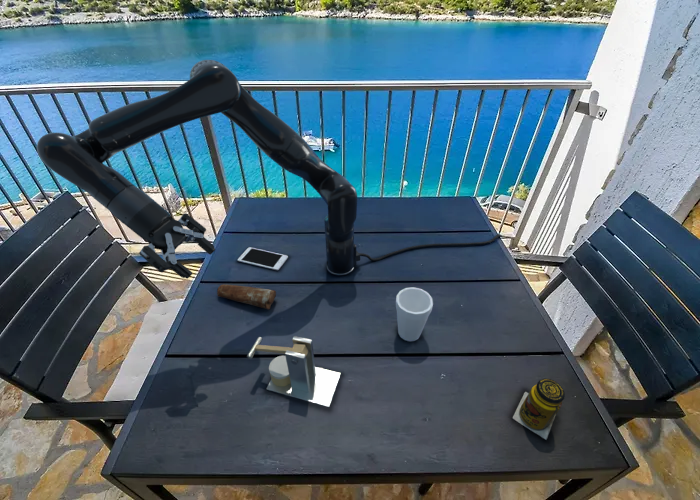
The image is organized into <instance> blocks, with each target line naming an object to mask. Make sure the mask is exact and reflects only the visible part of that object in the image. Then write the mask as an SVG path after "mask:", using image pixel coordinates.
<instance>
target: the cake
mask: <svg viewBox="0 0 700 500" xmlns="http://www.w3.org/2000/svg"><path fill="white" fill-rule="evenodd" d="M268 371H269V375H270V380H271V379H272V382H273V383H274V384H275V385H277V386H287V385H289V384H290V383H291V381H290V376H289V371H288V366H287V361H286V356H285V355H279V356H277V357H274V358H273V359H271V361H270V363H269V366H268Z"/></svg>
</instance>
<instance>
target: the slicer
mask: <svg viewBox="0 0 700 500" xmlns="http://www.w3.org/2000/svg"><path fill="white" fill-rule="evenodd" d="M291 341H292V345H293V346H294V344H302V345H305V346H306V348H307V350H308V353H307V356H306V355H304V354H300V353H296V352H292V351H288V350H287V351H286V353H285V354H284V356H286V361H287V366H288V371H289V376H290V381H291V383H290V384H289V385H287V386H277V385H275V384H274V383H273V382H272V379H271V378H270V381H269V382H268V384H267V387H266V390H268V391H271V392H274V393H278V394H282V395H285V396H289V397H292V398H296V399H300V400H303V401H305V402H309V403H314V404H317V405H321V406H324V407H328V408H329V407H330V405H331V403H332V400H333V397H334V394H335V391H336V388H337V385H338V382H339V379H340V377H341V372H338V371H334V370H329V369H325V368H323V367H318V366H316V362H315V354H314V345H313V340H312V339H310V338H306V337H301V336H297V335H293V337H292V340H291ZM293 346H292V347H293Z"/></svg>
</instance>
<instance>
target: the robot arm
mask: <svg viewBox="0 0 700 500" xmlns="http://www.w3.org/2000/svg"><path fill="white" fill-rule="evenodd" d="M216 114H222V115H223V116H225V117H226V118H228V120H230V121H232V122H233V123H234V124H235V125H236V126H237V127H239V129H241V130H242V131H243V133H244V134H245V135H246V136H247V138H249V139H250V140H251V142H253V144H255V145H256V147H257V148H258V149H260V151H262V152H263V153H264V154H265V155H266V156H267V157H268V158H269V159H271V160H272V161H273V162H274V163H275V164H277V166H279V167H280V168H281V169H283V170H285V171H287V172H288V173H290V174H292V175H295V176H297V177H299V178H301V179H303V180H304V181H305V182H306V183H308V184H309V186H311V187H312V188H313V189H314V190H315V191H316V192H317V194H318V195H319V196H320V198H321V199H322V200H323V202H324V203H325V204H326V205H327V214H326V216H325V217H324V221H323V222H324V235H325V236H324V237H325V238H324V239H325V253H326V254H325V255H326V270H327V272H328V273H329V274H331V275H333V276H336V277H337V276H338V277H343V276H348V275H350V274H351V273H352V272H353V271H354V270H355V269H356V268H357V262H359V261H361V257H364V258H367V259H368V260H369V261H372V262H378V261H382V260H384V259H386V258H388V257H391V256H393V255H397V254H400V253H403V252H406V251H410V250H415V249H420V248H421V249H422V248H430V247H458V246H459V247H460V246H461V247H463V246H466V247H467V246H482V245H488V244H490V243H491V244H492V243H493V242H494V241H495V240H497V239H498V238H503V235H502V234H501V233H498V234H496V235H495V236H494V237H493V238H491V239H489V240H487V241H479V242H478V241H476V242H456V243H455V242H452V243H451V242H450V243H449V242H448V243H447V242H445V243H428V244H419V245H418V244H417V245H412V246H407V247H404V248H401V249H397V250H395V251H392V252H388V253H386V254H384V255H382V256H380V257H375V258H372V257H371V256H370V255H369V254H366V253H362V252H359V251H358V250H357V245H356V244H355V222H356V221H357V217H358V192H357V189H356V188H355V186H353V184H352V183H351V182H350V181H349V180H348V179H347V178H346V177H345V176H343V175H342V174H341V173H339V172H338V171H336V170H335V169H333V168H332V167H331V166H329V165H328V164H327V163H326V162H324V161H323V160H322V159H321V158H320V156H318V154H317V153H316V152H315V150H314V149H313V148H312V147H311V145H310V144H309V143H308V142H307V141H306V140H305V139H304V138H303V137H302V135H300V134H299V133H298V132H296V130H295V129H293V128H292V127H291V126H290V125H289V124H288V123H287V122H285V121H284V120H283V119H282V118H280V117H279V116H278V115H276V114H275V113H274V112H273V111H271V110H270V109H268V108H266V107H265V106H264V105H262V104H261V103H260V102H259V101H257V100H256V99H255V98H254V97H253V96H252V95H251V94H250V93H249V92H248V90H246V89H245V88H244V87H243V85H242V84H241V83H240V82H239V80H238V77H237V76H236V75H235V73H233V72H232V70H231V69H230V68H228V67H227V66H226V65H225V64H223V63H221V62H220V61H217V60H213V59H202V60H200V61H198V62H196V63H195V64H194V65H193V66H192V67H191V69H190V72H189V79H188V80H187V81H185V82H184V83H182V84H180V85H179V86H177V87H175V88H174V89H171V90H170V91H167V92H165V93H162V94H160V95H157V96H153V97H151V98H147V99H142V100H140V101H134V102H131V103H128V104H125V105H123V106H121V107H118V108H116V109H113V110H111V111H108V112H107V113H104V114H102V115H100V116H97V117H96V118H94V119H92V120H91V121H90V122H89V124H88V128H87V129H85V130H83V131H82V132H79V133H77V134H75V135H70V134H68V133H64V132H49V133H46V134H44V135H42V136H41V137H40V138H39V139H38V140H37V143H36V152H37V155H38V157H39V158H40V160H41V161H42V162H43V164H44V165H45V166H46V167H48V168H49V169H50V170H51V171H52V172H54V173H55V174H56V175H58V176H60V177H61V178H64V179H65V180H66V181H68V182H69V183H70V184H72V185H74V186H76V187H78V188H79V189H80V190H83V191H84V192H86V193H88V195H89V196H91V197H92V198H93V199H94V200H95V201H96V202H98V203H99V204H100V205H102V206H103V207H104V208H105V209H107V210H108V211H109V212H110V213H111V214H112V216H113V217H115V218H116V219H117V220H118V221H120V222H121V223H122V225H125V226H126V227H127V228H128V229H129V230H130V231H132V232H133V233H134V234H135V235H137V236H138V237H140V238H141V239H142V240H144V241H146V242H147V243H148V245H144V246H143V247H142V249H140V251H139V255H140V256H141V257H142V258H143V259H144V260H145V261H146V262H148V263H149V264H150V265H151V266H152V267H153V268H154V269H155V270H156V271H158V272H159V273H164V272H165V271H168V270H171V271H173V272H174V273H175V274H176V275H178V276H179V277H181V279H187V280H188V279H189V278H190V277H191V276H192V275H193V272H192V271H191V270H190V269H189V268H188V267H186V266H185V265H184V264H182V262H180V261H177V256H176V250H177V248H178V247H179V246H181V245H182V244H183V243H184V242H185V243H189V242H192V243H196V244H197V246H199V247H200V248H201V250H203V251H204V252H206V253H207V254H208V255H212V254H213V253H214V252H215V251H216V248H215V245H214V243H212V242H210V241H209V240H208V239H207V238H206V237H205V233H206V231H207V228H206V227H205V226H203V225H202V224H201V223H200V222H198V221H197V220H196V219H194V217H192V216H191V215H189V214H188V213H186V212H184V213H183V214H181V216H180V217H179V219H178V220H177V219H175V218H173V217H172V214H171V213H170V212H169V211H168V210H166V208H164V207H162V206H161V205H160V204H159V203H158V202H157V201H155V200H154V199H153V198H152V197H151V196H150V195H149V194H147V192H145V191H143V190H142V189H140V188H139V187H138V186H136V185H135V184H134V183H132V182H131V181H130V180H129V179H128V178H127V177H125V176H124V175H123V174H121V173H120V172H119V171H118V170H116V169H115V168H113V167H110V166H108V165H106V164H104V163H105V162H106V161H107V160H109V159H111V158H112V157H114V156H115V155H116V154H117V153H120V152H123V151H126V150H127V149H129V148H131V147H133V146H136V145H137V144H141V143H142V142H144V141H146V140H149V139H150V138H153V137H155V136H157V135H159V134H161V133H164V132H166V131H168V130H171V129H173V128H175V127H178V126H180V125H184V124H186V123H190V122H192V121H195V120H198V119H201V118H205V117H209V116H213V115H216ZM184 227H186V228H184ZM156 250H160V252H161V255H162V257H161V256H160V255H159V254H158V253H157V252H156Z"/></svg>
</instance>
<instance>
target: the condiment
mask: <svg viewBox="0 0 700 500" xmlns="http://www.w3.org/2000/svg"><path fill="white" fill-rule="evenodd" d="M565 397H566V393H565V390H564V388H563V387H562V386H561V385H560V383H558V382H557V381H555V380H554V379H551V378H541V379H539V380H538V381H537V383H536V384H535V385H533V386H532V387H531V388H530V390H529V392H527V391H525V392H524V393H523V396H522V397H521V399H520V402H519V403H518V405H517V408H516V410H515V411H514V414H513V416H512V419H513V421H516V422H517V423H519V424H520V425H522V426H524V427H525V428H526V429H528V430H530V431H531V432H533V433H534V434H536V435H538V436H539V437H541V438H542V439H544V440H547V439H548V437H549V434H550V432H551V429H552V426H553V423H554V421H555V419H556V416H557V413H558V412H559V411H560V409H561V407H562V405H563V401H564V400H565Z"/></svg>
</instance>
